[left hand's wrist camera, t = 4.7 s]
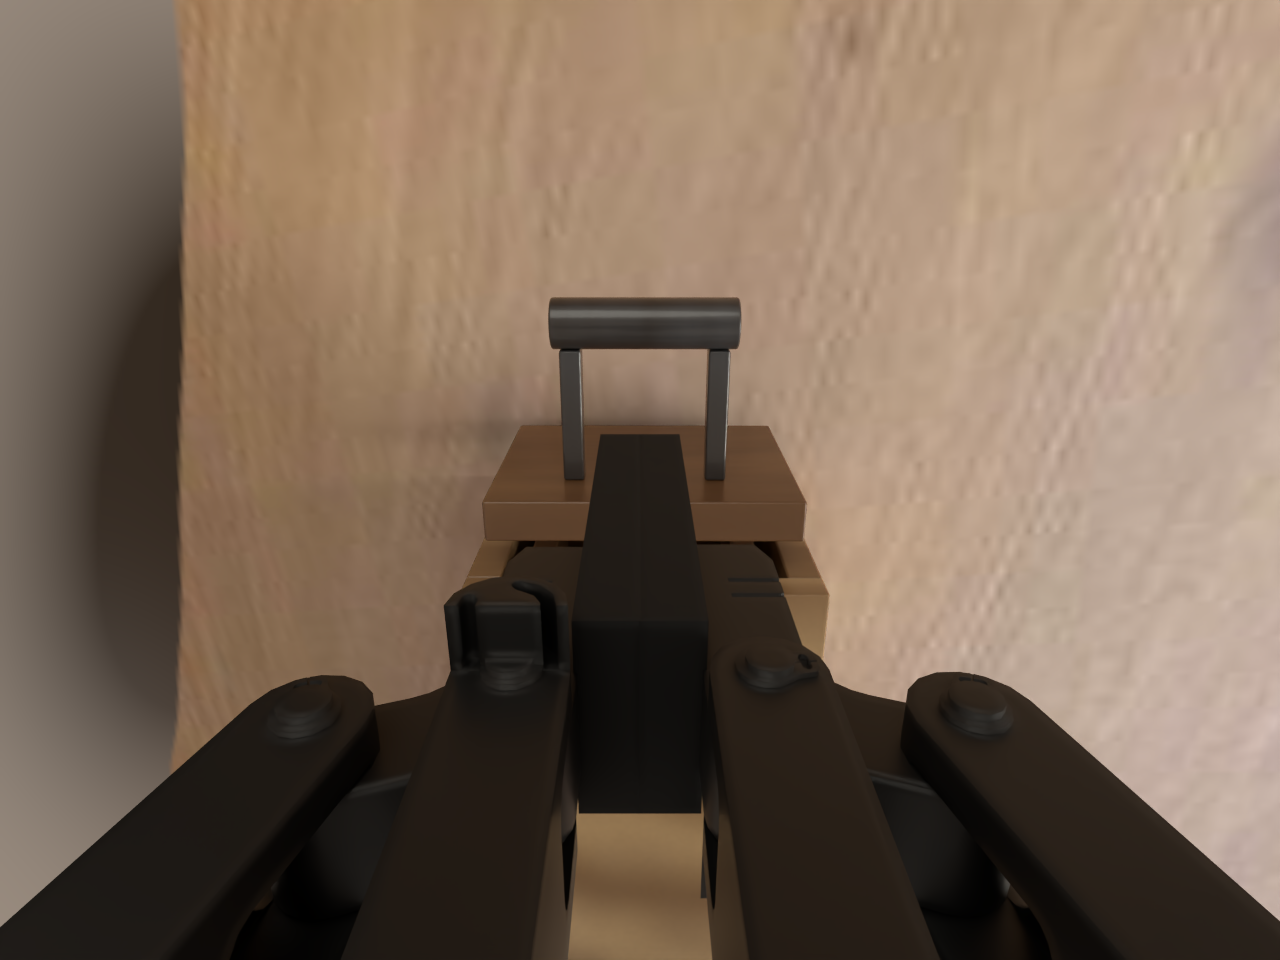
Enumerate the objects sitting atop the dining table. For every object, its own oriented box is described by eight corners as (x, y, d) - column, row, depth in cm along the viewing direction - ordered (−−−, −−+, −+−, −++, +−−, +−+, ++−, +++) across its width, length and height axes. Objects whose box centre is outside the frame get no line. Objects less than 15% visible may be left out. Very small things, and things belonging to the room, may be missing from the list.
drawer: (511, 275, 25) (465, 308, 19) (778, 275, 25) (824, 309, 19) (545, 836, 34) (522, 989, 28) (742, 837, 34) (764, 990, 28)
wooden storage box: (512, 474, 29) (458, 594, 21) (776, 475, 29) (830, 595, 21) (538, 875, 37) (507, 1081, 28) (748, 876, 36) (779, 1083, 28)
